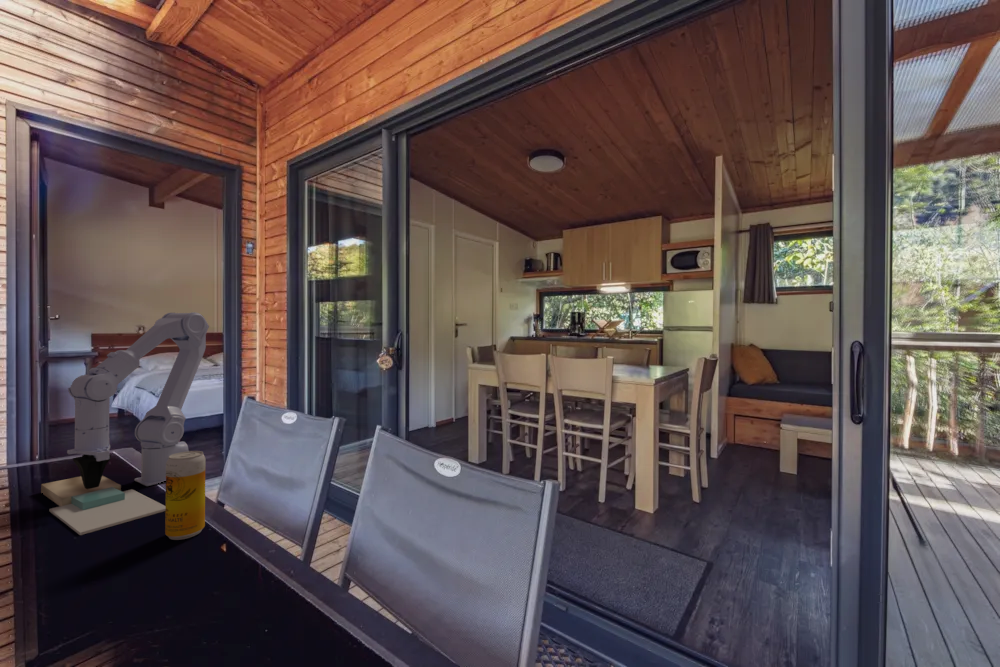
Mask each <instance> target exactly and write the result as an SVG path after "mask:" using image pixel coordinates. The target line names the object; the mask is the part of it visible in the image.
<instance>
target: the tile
mask: <svg viewBox="0 0 1000 667" xmlns="http://www.w3.org/2000/svg"><path fill="white" fill-rule="evenodd" d="M121 500H125V493H124V492H123V491H122V490H121V491H120V490H118V489H116V488H113V487H110V488H106V489H102V490H97V491H93V492H89V493H84V494H80V495H76V496H72V497H71V504H73V505H75V506H77V507H78V508H80V509H82V510H86V509H90V508H94V507H98V506H101V505H105V504H109V503H113V502H117V501H121Z"/></svg>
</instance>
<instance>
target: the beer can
mask: <svg viewBox="0 0 1000 667" xmlns="http://www.w3.org/2000/svg"><path fill="white" fill-rule="evenodd" d="M165 506H166V510H165V511H164V513H165V518H164V519H165V522H164V523H165V524H164V525H165V526H164V527H165V529H164V532H165V533H164V534H165V535H166V536H167V537H168V539H169V540H173V541H179V540H185V539H191V538H192V537H195V536H197V535H199V534H200V533H201V532H202V530H203V529H204V528H205V526H206V456H205V455H204V451H202V450H201V451H200V450H189V451H186V452H180V453H176V454H172V455H170V456H169V459H168V460H167V462H166V482H165Z"/></svg>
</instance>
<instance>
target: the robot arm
mask: <svg viewBox="0 0 1000 667" xmlns="http://www.w3.org/2000/svg"><path fill="white" fill-rule="evenodd" d="M209 327H210V325H209V324H208V321H207V319H206V318H205V317H204V316H203V315H202V314H201V313H199V312H193V311H192V312H167V313H166V314H164V315H163V316H162V317H161V318H158V319H157V320H156V321H155V322H154V324H153V326H151V327H150V328H149V329H148V330H147V331H146V332H144V334H142V335H141V336H140V337H139V338H138V339H137V340H135V341H134V342H133V343H132V344H131V345H130V346H129V347H128V348H126V350H123V349H119V350H115V351H111V352H108V354H106V357H107V358H105V359H104V360H103V361H102V362H101V363H99V364H98V365H97V366H95V367H91V368H90V369H89V370H88V374H84V375H79V376H77V377H76V378H75V379H73V381H72V382H71V385H70V387H68V388H67V391H68V394H69V395H70V396H71V397H72V398H73V400H74V448H72V449H67V450H66V453H67V454H68V455H74V454H76V455H81V456H77V457H73V458H72V461H73V462H74V464H75V465H76V466H77V468H78V471H79V473H80V476H81V477H82V481H83V484H84V487H85V488H86V489H90V488H95V487H99V484H100V481H101V478H102V476H103V474H104V472H105V469H106V467H107V464H108V463H109V461H110V460H111V459H112V456H111V454H110V449H111V444H110V402H111V401H110V399H111V398H110V397H112V396H114V395H115V394H116V392H117V389H118V388H117V387H118V385H119V384H120V383H122V382H123V381H124V380H125V379H126V378H127V377H128V376H130V375H131V374H132V373H134V371H136V370H137V369H138V368H139V367H140V363H141V362H140V359H142V358H143V357H145V356H146V355H147V354H148V353H150V352H151V351H152V350H154V349H156V347H158V346H159V345H161V344H162V343H163V342H165V341H166V340H169V339H171V340H172V341H173V342H174V343H175V345H176V346H177V347H178V349H179V351H178V353H177V356H176V358H175V360H174V363H173V365H172V368H171V370H170V372H169V375H168V377H167V379H166V381H165V384H164V386H163V389H162V391H161V394H160V396H159V398H158V401H157V403H156V405H155V406H154V407H152V408H151V409H149V410H148V411H147V412H146V413H145V415H144V417H143V419H142V420H140V421H139V422H138V423H137V424H136V426H135V428H134V436H135V438H136V439H137V441H138V442H140V447H141V455H140V456H141V458H140V459H141V462H140V464H141V467H140V468H141V474H140V476H141V477H136V478H134V481H135V482H136V483H139V484H141V485H143V486H145V487H149V486H153V485H158V483H159V484H162V483H161V482H163V481H166V462H167V460H168V459H169V456H170V455H172V454H176V453H180V452H186V451H190V450H189V446H188V444H187V443H186V441H180V440H181V439H182V437H183V435H184V433H185V427H184V425H185V421H186V416H185V414H184V413H183V411H182V409H183V405H184V403H185V401H186V399H187V397H188V393H189V391H190V389H191V386H192V384H193V381H194V379H195V377H196V374H197V371H198V369H199V366H200V364H201V362H202V359H203V357H204V354H205V351H206V348H207V343H206V342H207V340H206V339H207V338H206V336H207V332H208V330H209ZM163 483H164V482H163Z"/></svg>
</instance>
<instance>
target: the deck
mask: <svg viewBox="0 0 1000 667" xmlns="http://www.w3.org/2000/svg"><path fill="white" fill-rule="evenodd" d="M40 487H41V488H40V493H41V494H42V493H43V495H44V496H45V497H47V499H49V500H51V502H52V503H53V502H54V504H55V505H57V506H58V507H60V506H64V505H68V504H71V497H72V496H76V495H80V494H84V493H89V492H93V491H97V490H102V489H106V488H110V487H113V488H116V489H118V490H120V491H122V489H121V488H122V485H121V484H120V483H118V482H115V481H114V480H112V479H110V478H108V477H106V476H104V475H102V478H101V481H100V484H99V487H95V488H90V489H86V488H85V487H84V484H83V481H82V477H81V475H80V476H75V477H71V478H67V479H61V480H56V481H50V482H46V483H45V482H44V483H41V485H40Z"/></svg>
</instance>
